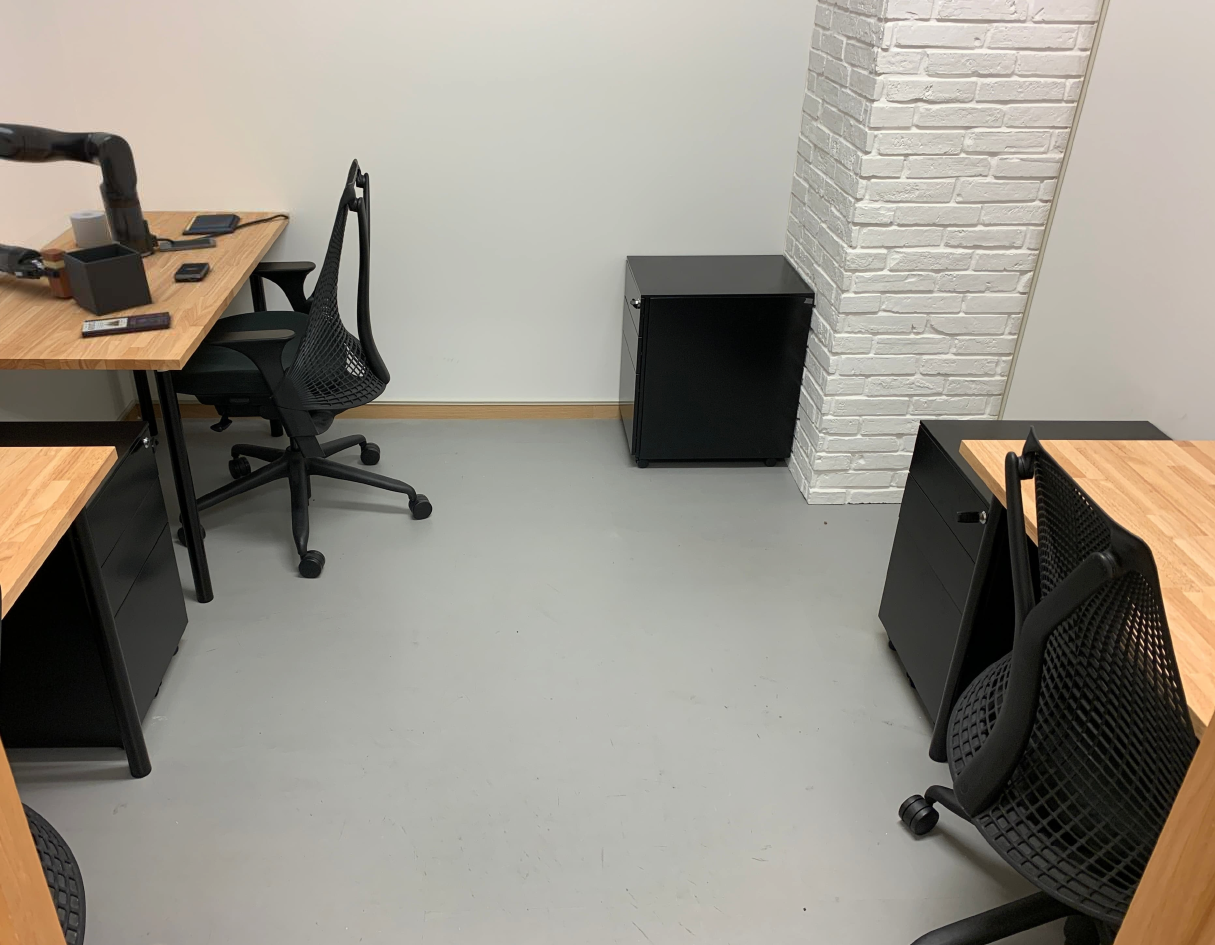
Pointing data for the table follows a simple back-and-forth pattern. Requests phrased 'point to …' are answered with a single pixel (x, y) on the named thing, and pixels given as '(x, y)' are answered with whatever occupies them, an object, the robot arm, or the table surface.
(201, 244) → the smartphone
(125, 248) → the trash can
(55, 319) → the table surface
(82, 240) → the toilet tissue
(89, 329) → the chocolate bar
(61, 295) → the chocolate box
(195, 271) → the external hard drive
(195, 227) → the dark blue book
